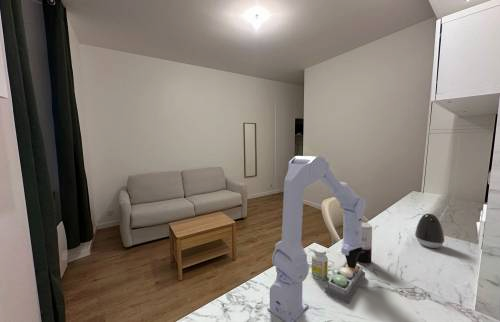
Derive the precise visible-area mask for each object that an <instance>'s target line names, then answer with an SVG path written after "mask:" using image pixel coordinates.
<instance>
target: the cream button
mask: <svg viewBox="0 0 500 322" xmlns="http://www.w3.org/2000/svg"><path fill="white" fill-rule="evenodd" d="M340 267H341V266H340ZM340 267H339V269H340V275H343V276H345V277H346V278H347V279H352V278H353V271H352V270H351V269H349V268H346V267H341V268H340Z"/></svg>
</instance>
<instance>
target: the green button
mask: <svg viewBox="0 0 500 322" xmlns="http://www.w3.org/2000/svg"><path fill="white" fill-rule="evenodd" d="M334 274H335V273H334ZM334 274H333V275H334ZM333 275H332V276H333ZM333 283H334V284H335V285H337V286H340V287H346V286H347V278H346V277H345V276H343V275H340V274H335V275H334V276H333Z"/></svg>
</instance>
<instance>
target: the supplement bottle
mask: <svg viewBox="0 0 500 322" xmlns="http://www.w3.org/2000/svg"><path fill="white" fill-rule="evenodd" d="M326 254H327V250H326V249H325V248H324V247H321V246H317V247H316V246H315V247H314V248H313V253H312V254H311V276H312V277H313V278H314V279H316V280H319V281H325V280H326V279H327V278H328V263H329V261H328V256H327V255H326Z"/></svg>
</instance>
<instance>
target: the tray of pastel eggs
mask: <svg viewBox="0 0 500 322" xmlns="http://www.w3.org/2000/svg"><path fill="white" fill-rule="evenodd" d="M346 264H347V260H345V262H343V264H342V265H341V266H340V267H339V268H338V270H337V271H336V272H335V273H334V274H333V275H332V276H331V278H330V279H328V281H327V284H326V285H324V293H325V294H326V295H327V294H328V295H329V296H331V297H333V298H335V299H338V300H339V301H341V302H343V303H345V304H347V305H349V303H350V302H351V301H352V299H353V297H354V296H355V294H356V293H357V291H358V290H359V288H360V286H361V285H362V283H363V282H364V280H365V278H366V272H365V271H364V270H363V269H364V267H363V266H361V265H358V264H356V266H357V267H358V272H357V273H356V272H353V278H352V279H347V286H346V287H340V286H337V285H335V284H334V283H333V276H334V275H335V274H340V268H341V267H345V265H346Z"/></svg>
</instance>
